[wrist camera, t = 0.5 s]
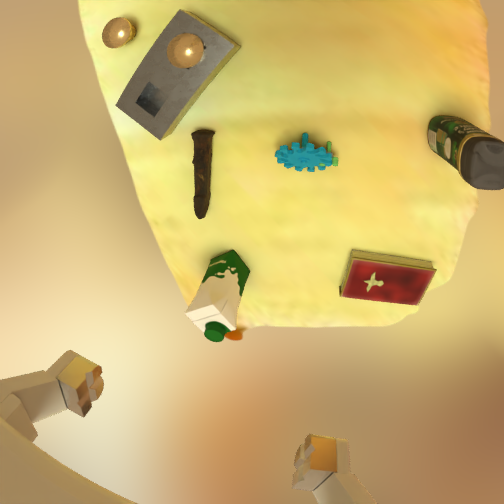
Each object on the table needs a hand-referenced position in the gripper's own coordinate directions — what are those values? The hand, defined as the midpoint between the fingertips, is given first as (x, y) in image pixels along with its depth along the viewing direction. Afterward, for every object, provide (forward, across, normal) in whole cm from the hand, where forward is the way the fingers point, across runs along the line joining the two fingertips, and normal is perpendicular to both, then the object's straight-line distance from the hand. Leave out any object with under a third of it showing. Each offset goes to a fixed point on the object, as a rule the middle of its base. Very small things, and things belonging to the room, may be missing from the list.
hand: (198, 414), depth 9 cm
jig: (+45, +24, -20) cm, 55 cm away
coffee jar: (+46, -27, -23) cm, 59 cm away
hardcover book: (+58, -28, +11) cm, 65 cm away
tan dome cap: (+42, +36, -28) cm, 62 cm away
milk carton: (+58, +8, +20) cm, 62 cm away
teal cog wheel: (+50, -2, -10) cm, 51 cm away
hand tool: (+52, +16, -1) cm, 54 cm away
